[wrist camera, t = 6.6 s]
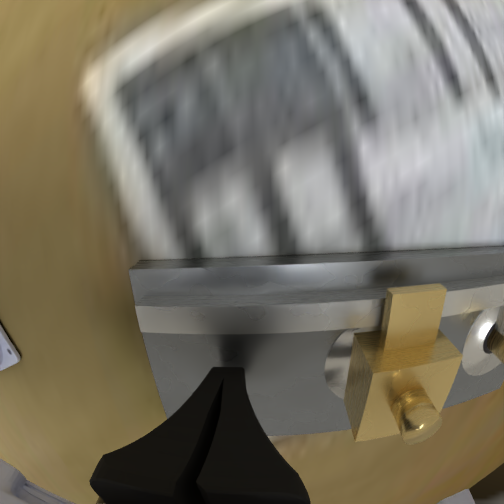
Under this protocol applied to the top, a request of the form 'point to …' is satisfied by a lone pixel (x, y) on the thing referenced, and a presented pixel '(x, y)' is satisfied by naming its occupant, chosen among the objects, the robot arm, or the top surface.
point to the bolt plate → (308, 324)
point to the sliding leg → (402, 368)
